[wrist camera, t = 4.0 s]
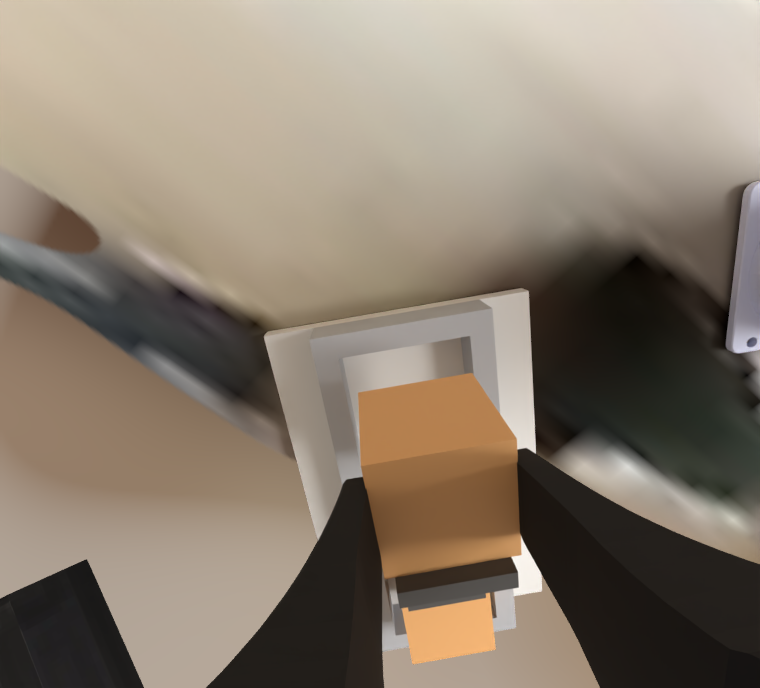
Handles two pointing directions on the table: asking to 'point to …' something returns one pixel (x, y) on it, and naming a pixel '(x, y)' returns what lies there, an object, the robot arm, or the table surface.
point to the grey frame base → (393, 368)
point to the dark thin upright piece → (62, 636)
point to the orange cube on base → (441, 488)
